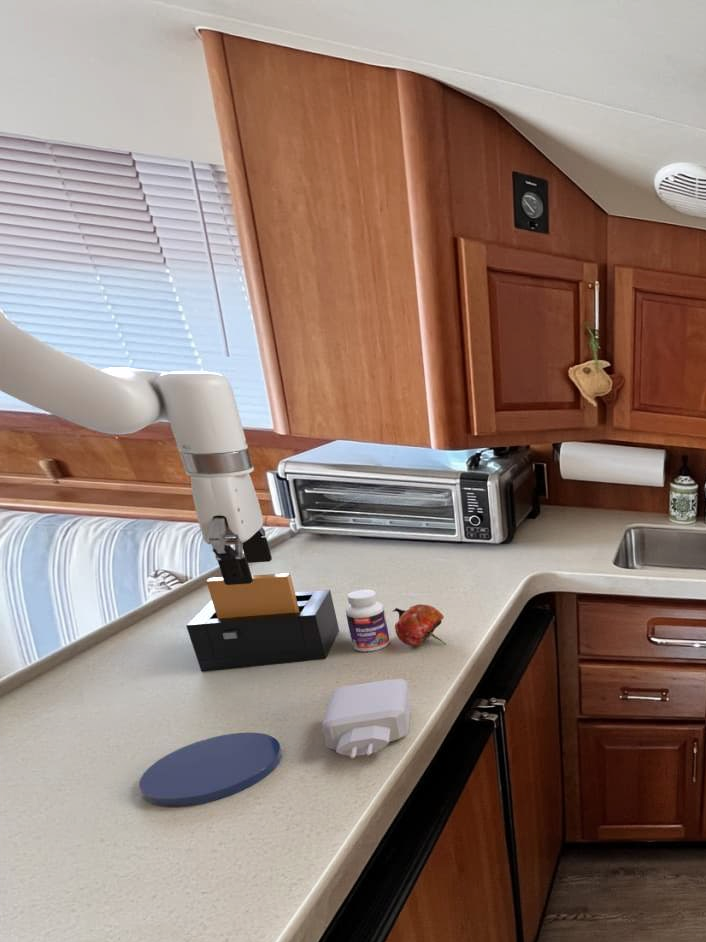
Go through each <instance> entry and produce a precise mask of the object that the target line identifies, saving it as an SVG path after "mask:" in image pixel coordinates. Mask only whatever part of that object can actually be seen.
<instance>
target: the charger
mask: <svg viewBox="0 0 706 942" xmlns="http://www.w3.org/2000/svg"><path fill="white" fill-rule="evenodd" d="M411 707H412V696H411V692H410V686H409V682H408V681H407V679H402V678H393V679H385V680H378V681H371V682H365V683H358V684H351V685H350V684H349V685H344V686H340V687H336V688H334V689H333V690H332V691H331V695H330V697H329V700H328V704H327V707H326V710H325V714H324V717H323V720H322V723H321V730H322V734H323V738H324V741H325V746H326V748H328V749H329V750H335V752H336V753H337V754H339V755H344V756H349V758H350V759H355V758H356V757H358V756H363V755H366V756H371V755H372V754H373V753H377V752H378V751H380V750H381V749H383V748H385V747H387V746H388V744H389V743H390V742H393V741H397V740H400V739H403V738H405V737H406V736H407V735H408V734H409V728H410V727H409V726H410V718H411V717H410V716H411V709H412V708H411Z"/></svg>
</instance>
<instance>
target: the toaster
mask: <svg viewBox="0 0 706 942" xmlns="http://www.w3.org/2000/svg"><path fill="white" fill-rule="evenodd" d="M295 595H296V599H297V603H298V607H299V611H300V612H295V613H283V614H270V615H257V616H245V617H232V618H219V619H218V618H217V615H216V611H215V608H214V605H213V602H212V599H210V600H209V601H208V603H207V604H206V605H205V606H204V607H203V608H201V610H199V612H198V613H197V614H195V616H194V617H193V618H192V619H191V620H190V621H189V622H188V623H187V624H186V630H187V633H188V635H189V639H190V642H191V643H192V644H191V645H192V647H193V650H194V651H193V652H194V654H195V657H196V660H197V663H198V666H199V669H200V672H202V673H204V672H213V671H222V670H223V671H224V670H231V669H241V668H250V667H259V666H260V667H262V666H270V665H279V664H289V663H290V664H291V663H300V662H308V661H318V660H326V659H327V657H328V655H329V653H330V651H331V649H332V647H333V644H334V642H335V641H336V638H337V636H338V635H339V632H340V627H339V623H338V619H337V614H336V610H335V605H334V600H333V596H332V592H331V589H323V590H321V589H320V590H309V591H307V590H306V591H295Z"/></svg>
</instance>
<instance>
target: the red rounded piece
mask: <svg viewBox="0 0 706 942" xmlns="http://www.w3.org/2000/svg"><path fill="white" fill-rule="evenodd" d="M393 612H397V613H398V620H397V621H396V622H395V624H394V629H395V634H396V636H397V638H398V640H399V641H400V642H401V643H403V644H405V645H407V646H411V647H419V646H420V645H421V644H422V643H423V642H424V640H427V639H428V638H429V637H430V636H431V637H432V638H434V639H436V640H438V641H439V642H440V643H442V644H444V645H447V643H446V642H444V641H443V640H442V639H441V638H439V637H438V636H436V635H435V634H434V632H435V630H436V629H437V628H438V627H439V626H440V625H441V624H442V623H443V622H442V621H443V620H444V618H445V617H444V615H443V613H442V612H440V611H439V610H438V609H437V608H435V607H434V606H432V605H428V604H421V603H420V604H419V603H418V604H415V605H412V606H410V607H409V608H408V609H407V610H405V609H400V608H398V607H395V608H394V609H393V610H392V613H393Z"/></svg>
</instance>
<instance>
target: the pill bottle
mask: <svg viewBox="0 0 706 942" xmlns="http://www.w3.org/2000/svg"><path fill="white" fill-rule="evenodd" d="M347 601H348V606H347V607H346V609H345V617H346V621H347V627H348V630H349V636H350V640H351V644H352V648H353V649H354V650H355V651H359V652H365V653H366V652H367V651H368V652H375V651H379V650H381V649H384V648H386V647H387V646H388V645H389V644H390V634H389V631H388V630H389V629H388V624H387V618H386V613H385V607H384V605H383V604H382V603H381V602H379V601H378V596H377V593H376V591H375V590H373V589H358V590H354V591H351V592H349V593H348V594H347Z"/></svg>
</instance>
